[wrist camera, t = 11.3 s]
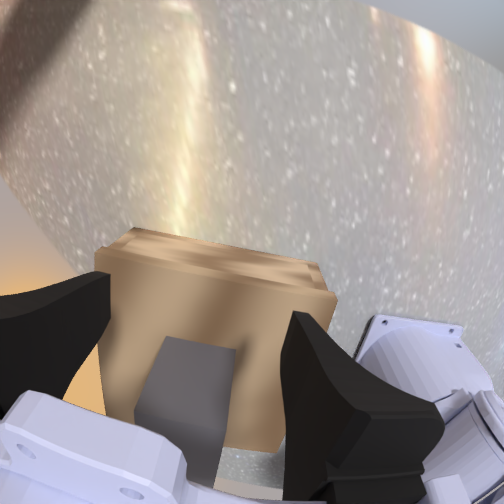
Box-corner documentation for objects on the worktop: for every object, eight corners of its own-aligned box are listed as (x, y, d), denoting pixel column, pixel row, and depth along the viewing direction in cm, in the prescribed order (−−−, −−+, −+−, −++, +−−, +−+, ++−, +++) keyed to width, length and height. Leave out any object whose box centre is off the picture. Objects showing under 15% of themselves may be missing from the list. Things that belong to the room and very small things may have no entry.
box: (316, 263, 22) (330, 295, 18) (274, 397, 27) (275, 440, 22) (133, 227, 22) (103, 250, 17) (130, 368, 26) (110, 406, 21)
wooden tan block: (334, 292, 17) (337, 300, 17) (276, 443, 22) (276, 453, 21) (102, 246, 17) (94, 252, 16) (110, 409, 21) (106, 417, 21)
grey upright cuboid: (236, 349, 18) (226, 431, 12) (222, 417, 20) (212, 490, 14) (166, 335, 18) (133, 410, 12) (163, 405, 20) (140, 475, 14)
